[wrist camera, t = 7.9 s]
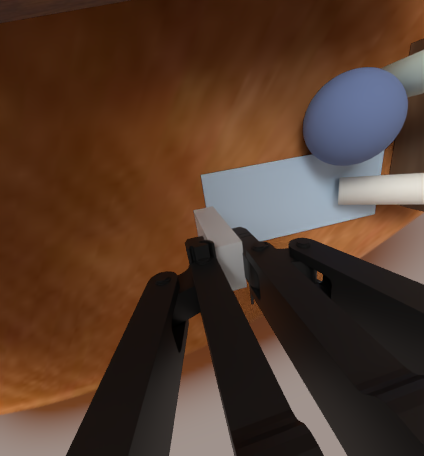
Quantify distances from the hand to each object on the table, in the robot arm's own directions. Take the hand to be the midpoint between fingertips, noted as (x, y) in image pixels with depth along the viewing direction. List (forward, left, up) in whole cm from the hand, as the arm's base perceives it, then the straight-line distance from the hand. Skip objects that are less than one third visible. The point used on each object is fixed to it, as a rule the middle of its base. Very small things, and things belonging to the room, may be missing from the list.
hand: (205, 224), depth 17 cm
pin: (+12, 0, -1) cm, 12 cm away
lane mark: (+9, 0, -2) cm, 9 cm away
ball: (+11, +6, +1) cm, 12 cm away
